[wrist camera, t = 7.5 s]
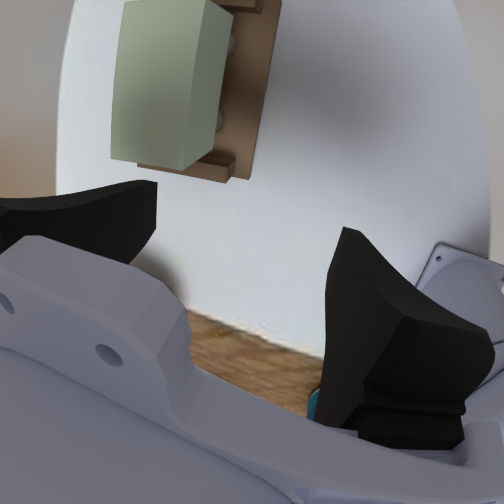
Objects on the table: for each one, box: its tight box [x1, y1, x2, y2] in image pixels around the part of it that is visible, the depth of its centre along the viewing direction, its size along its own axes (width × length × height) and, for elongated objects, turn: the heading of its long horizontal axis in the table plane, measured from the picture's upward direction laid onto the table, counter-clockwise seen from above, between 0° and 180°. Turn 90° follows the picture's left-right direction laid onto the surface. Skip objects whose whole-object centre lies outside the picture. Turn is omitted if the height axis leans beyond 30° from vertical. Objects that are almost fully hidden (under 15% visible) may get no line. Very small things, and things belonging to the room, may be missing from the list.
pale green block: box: [111, 0, 234, 171], centre depth 14 cm, size 8×4×4 cm, turn 170°
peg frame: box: [137, 0, 282, 183], centre depth 17 cm, size 12×8×3 cm, turn 170°
